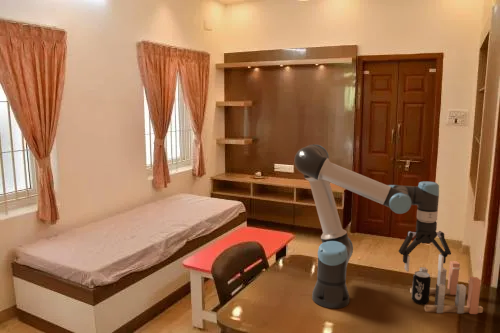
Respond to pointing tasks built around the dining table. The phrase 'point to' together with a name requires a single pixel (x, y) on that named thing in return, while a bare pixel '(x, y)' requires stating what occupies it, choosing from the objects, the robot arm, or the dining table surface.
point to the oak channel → (446, 307)
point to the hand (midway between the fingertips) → (423, 270)
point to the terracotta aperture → (472, 291)
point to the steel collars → (441, 293)
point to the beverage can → (421, 287)
